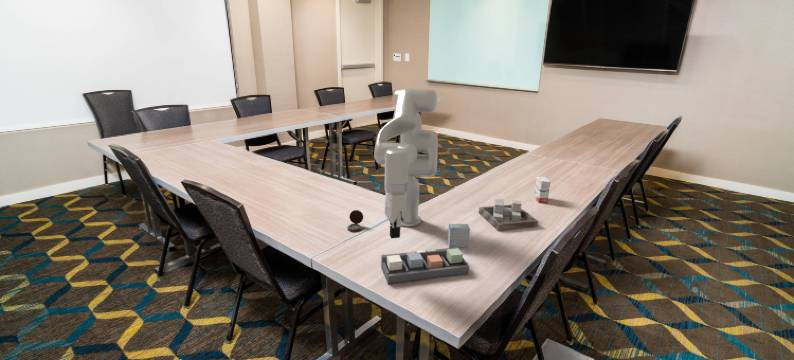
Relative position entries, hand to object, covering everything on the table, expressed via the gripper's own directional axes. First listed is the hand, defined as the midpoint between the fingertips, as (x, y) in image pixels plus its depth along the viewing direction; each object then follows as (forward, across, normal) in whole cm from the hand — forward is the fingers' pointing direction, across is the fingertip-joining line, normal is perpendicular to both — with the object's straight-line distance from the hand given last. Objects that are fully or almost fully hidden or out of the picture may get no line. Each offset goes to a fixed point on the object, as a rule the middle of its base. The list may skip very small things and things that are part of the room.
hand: (394, 236), depth 136 cm
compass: (+15, -39, -7) cm, 43 cm away
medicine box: (+15, -16, +31) cm, 38 cm away
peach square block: (+13, 0, +15) cm, 20 cm away
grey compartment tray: (+15, 0, +11) cm, 19 cm away
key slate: (+12, 0, +8) cm, 14 cm away
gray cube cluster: (+15, -34, +62) cm, 73 cm away
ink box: (+14, -53, +93) cm, 108 cm away
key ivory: (+12, 0, 0) cm, 12 cm away
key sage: (+12, 0, +23) cm, 26 cm away
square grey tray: (+14, -34, +63) cm, 73 cm away
